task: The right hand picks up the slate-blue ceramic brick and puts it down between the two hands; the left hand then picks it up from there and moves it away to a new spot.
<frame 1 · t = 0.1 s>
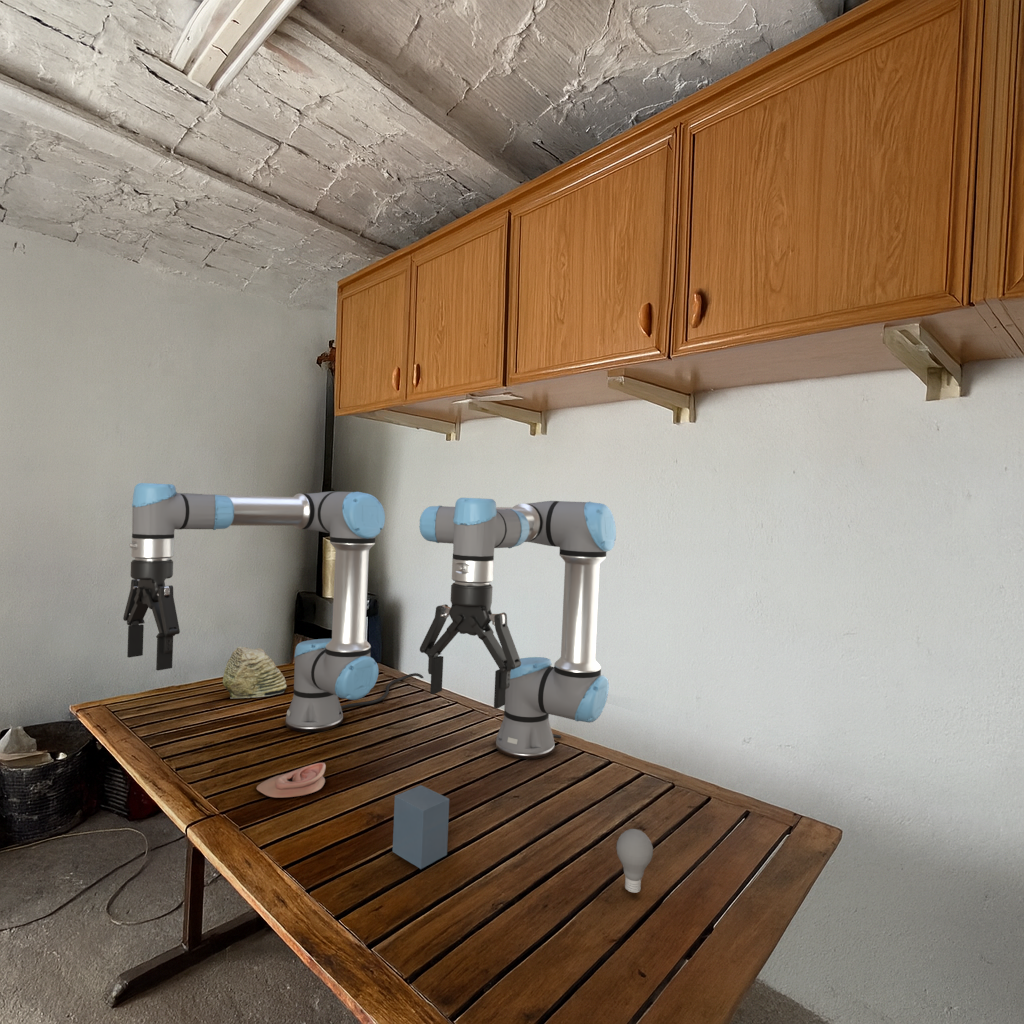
left hand: (149, 662, 129), 28 cm above the table, tool pointing down, fingers open, 13 cm apart
right hand: (466, 699, 115), 28 cm above the table, tool pointing down, fingers open, 13 cm apart
fossil: (254, 694, 198), on the table
anatomical model: (291, 787, 137), on the table
brick: (419, 853, 114), on the table
light bulb: (632, 891, 106), on the table
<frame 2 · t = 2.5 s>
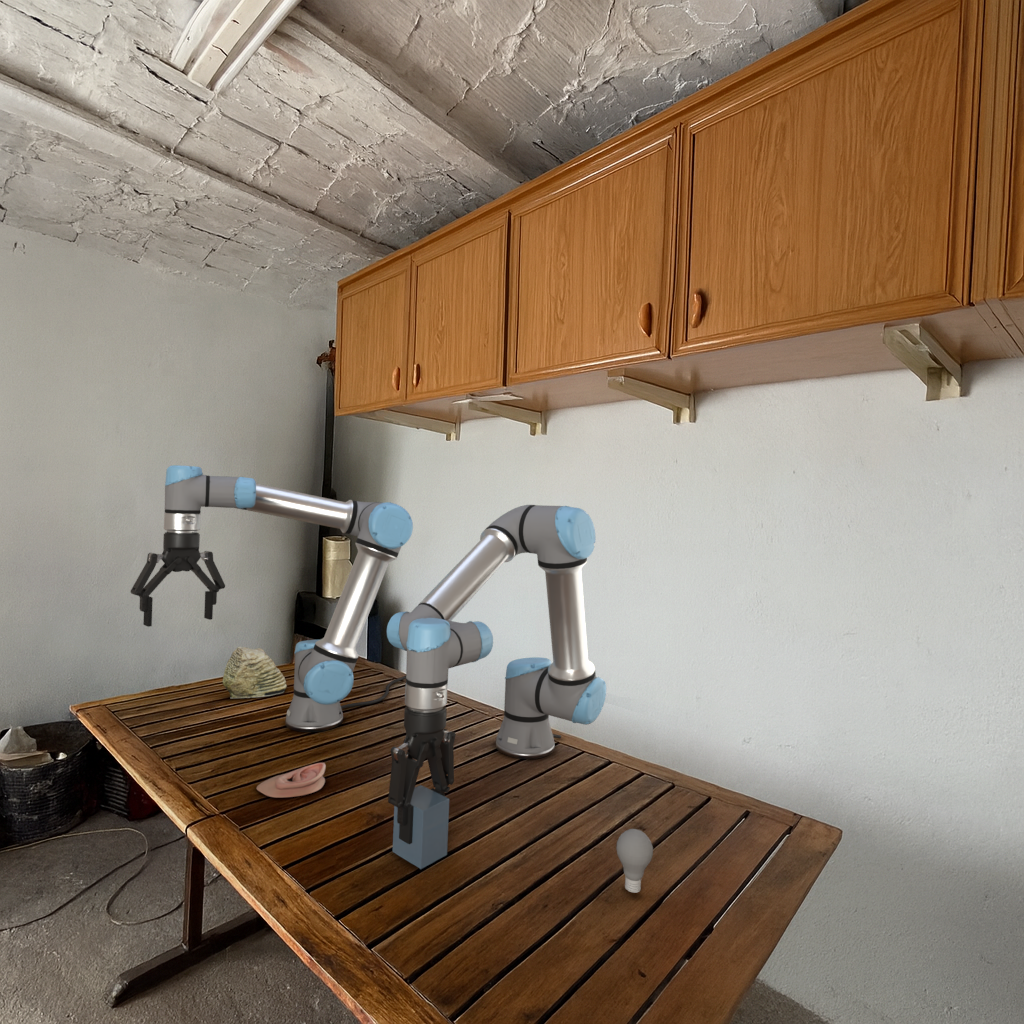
left hand: (178, 622, 148), 32 cm above the table, tool pointing down, fingers open, 13 cm apart
right hand: (420, 832, 114), 4 cm above the table, tool pointing down, fingers closed on brick, 6 cm apart
brick: (419, 853, 114), on the table, touching right hand
everything else where it was.
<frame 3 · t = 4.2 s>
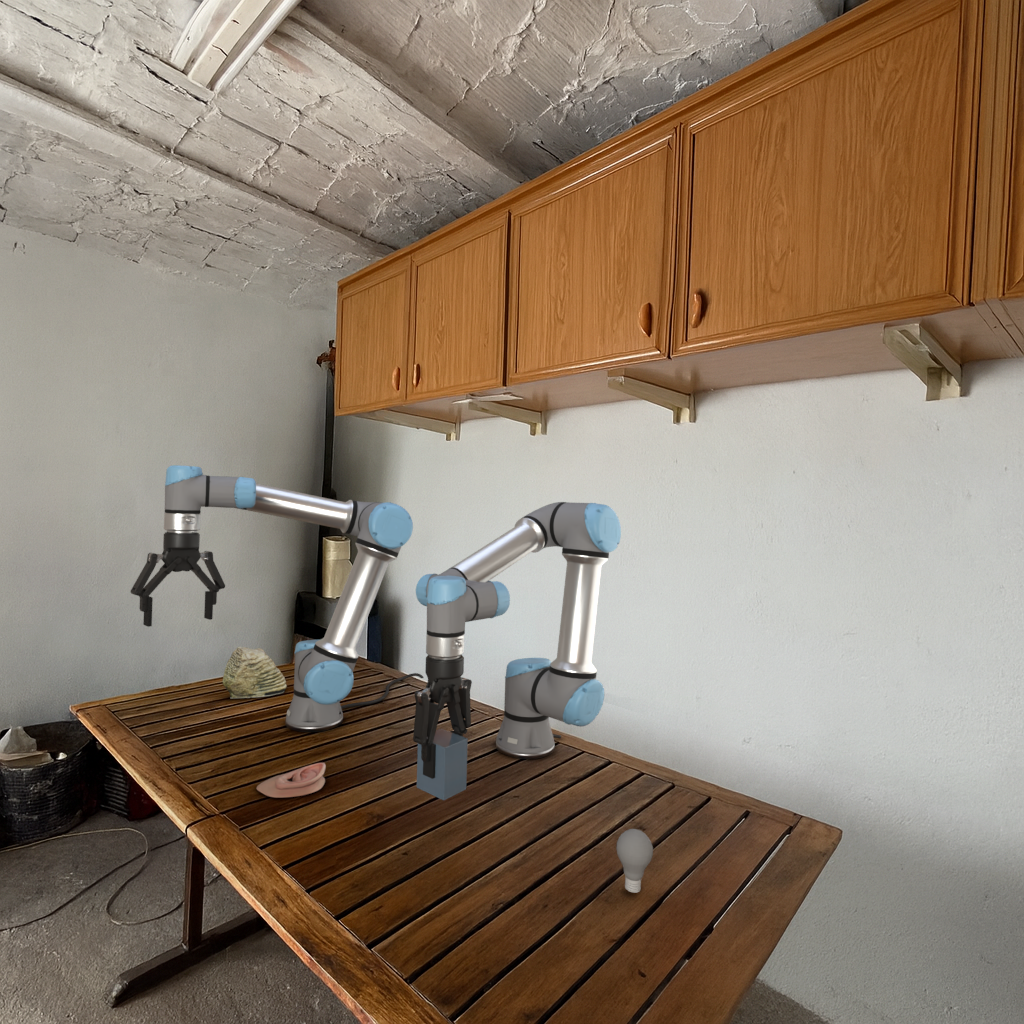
left hand: (178, 622, 148), 32 cm above the table, tool pointing down, fingers open, 13 cm apart
right hand: (442, 770, 126), 10 cm above the table, tool pointing down, fingers closed on brick, 6 cm apart
brick: (441, 788, 126), point 7 cm above the table, touching right hand
everything else where it was.
when the right hand's fingers open (6 cm above the table, at t = 5.9 s): brick drops 2 cm, on the table.
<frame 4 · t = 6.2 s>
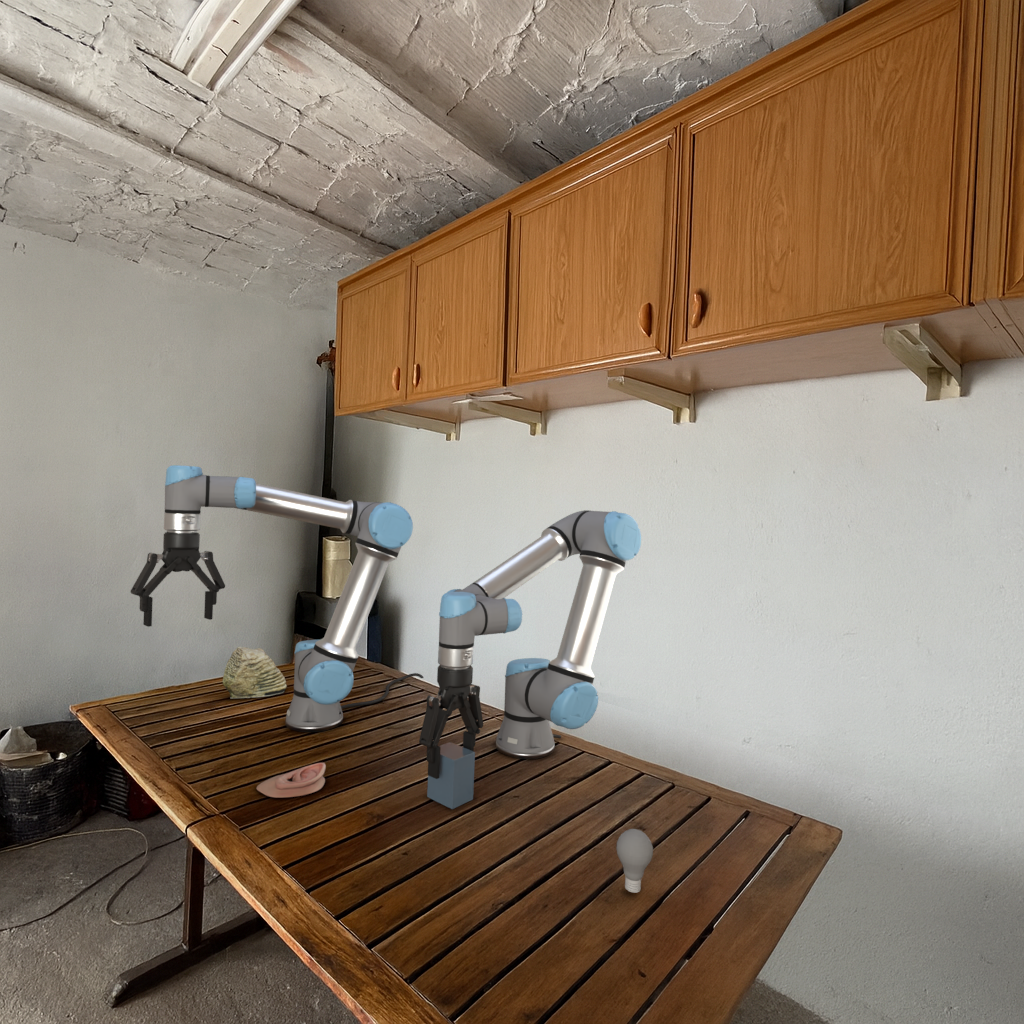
left hand: (178, 622, 148), 32 cm above the table, tool pointing down, fingers open, 13 cm apart
right hand: (451, 769, 136), 6 cm above the table, tool pointing down, fingers open, 9 cm apart
brick: (450, 798, 136), on the table
everything else where it was.
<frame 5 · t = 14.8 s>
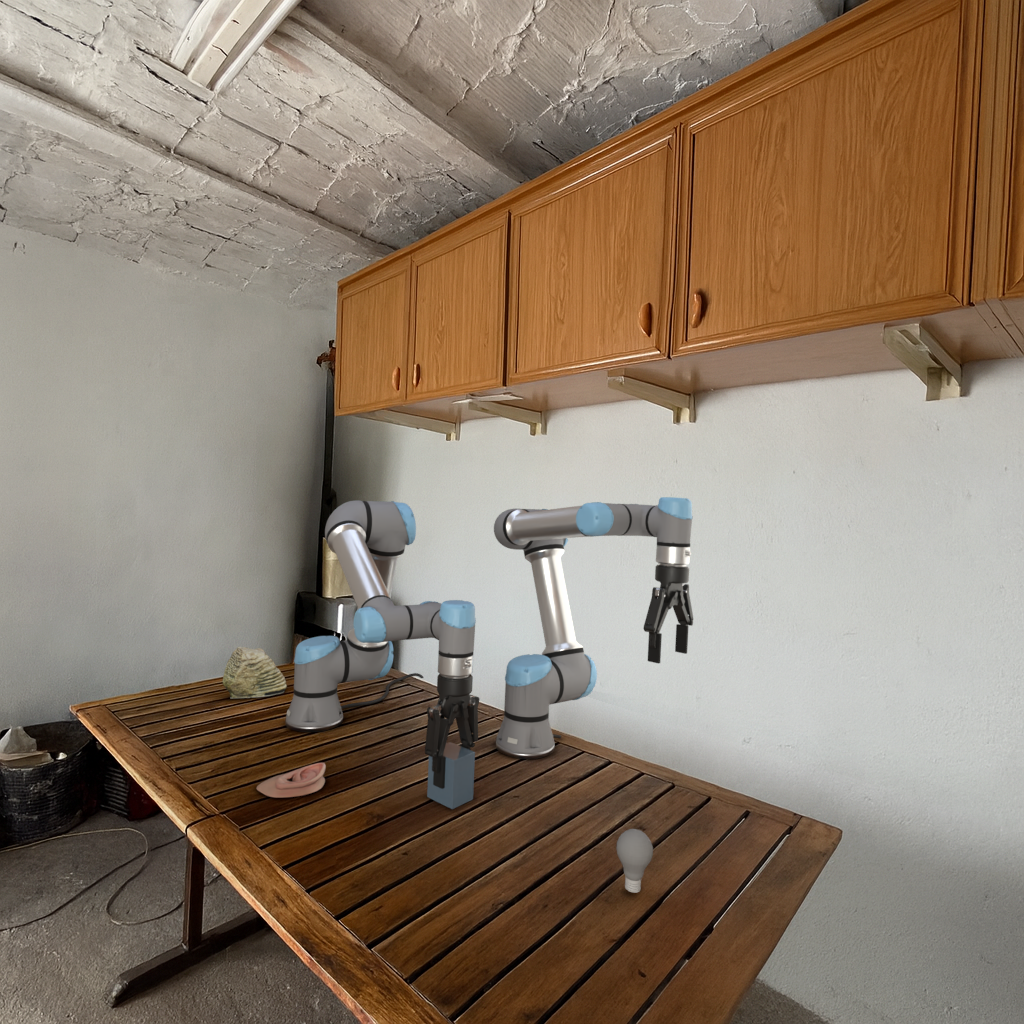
left hand: (450, 780, 136), 4 cm above the table, tool pointing down, fingers closed on brick, 6 cm apart
right hand: (667, 657, 145), 30 cm above the table, tool pointing down, fingers open, 13 cm apart
brick: (450, 798, 136), on the table, touching left hand
everything else where it was.
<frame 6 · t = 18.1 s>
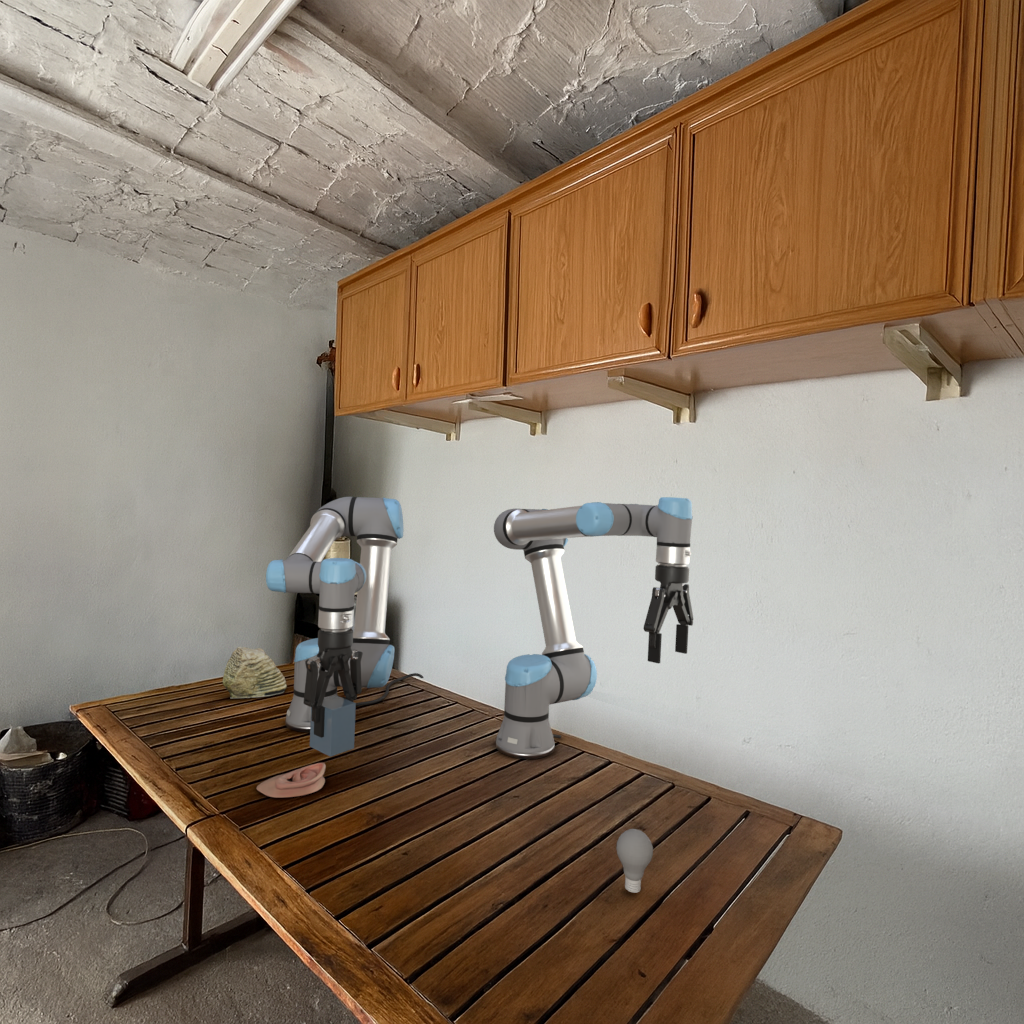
left hand: (332, 730, 141), 11 cm above the table, tool pointing down, fingers closed on brick, 6 cm apart
right hand: (667, 657, 145), 30 cm above the table, tool pointing down, fingers open, 13 cm apart
brick: (331, 747, 141), point 8 cm above the table, touching left hand
everything else where it was.
when the left hand's fingers open (6 cm above the table, at t = 21.9 s): brick drops 2 cm, on the table.
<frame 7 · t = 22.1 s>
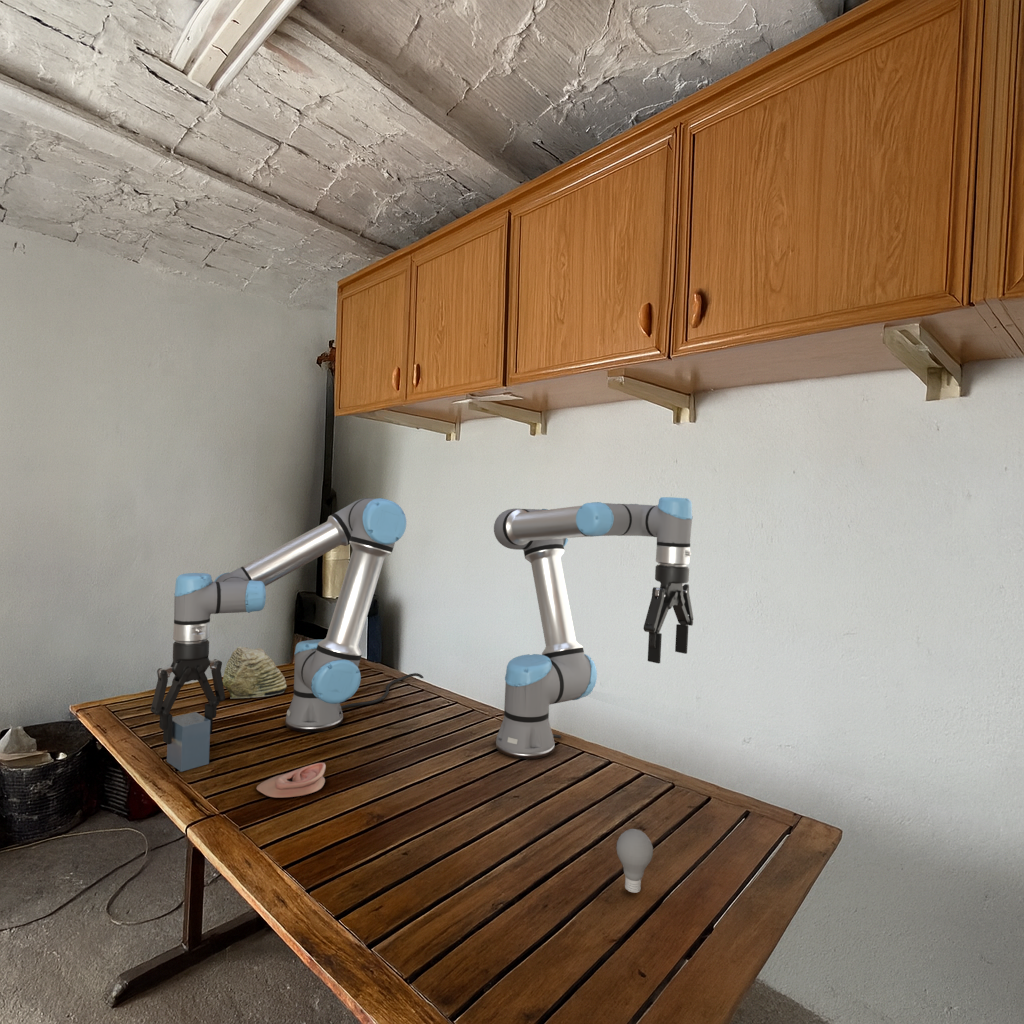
left hand: (188, 737, 147), 6 cm above the table, tool pointing down, fingers open, 8 cm apart
right hand: (667, 657, 145), 30 cm above the table, tool pointing down, fingers open, 13 cm apart
brick: (187, 762, 147), on the table
everything else where it was.
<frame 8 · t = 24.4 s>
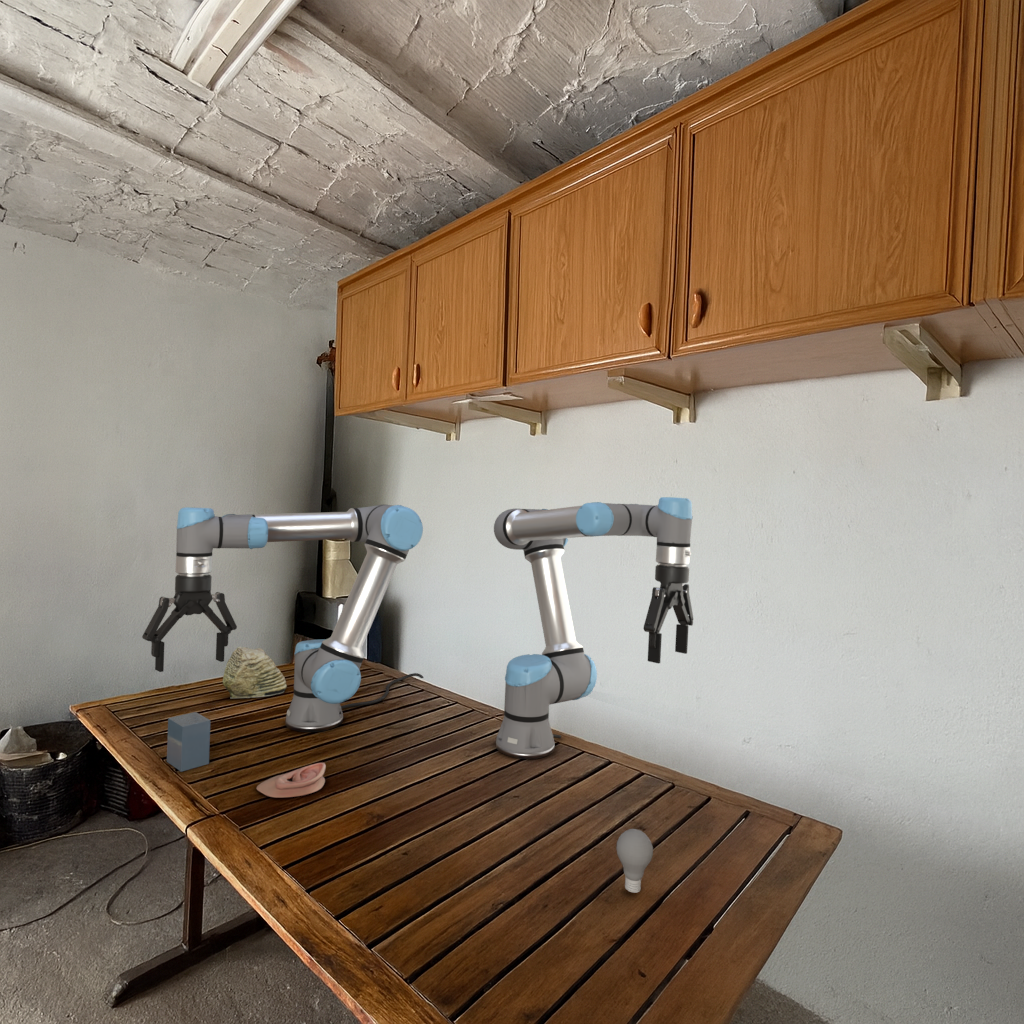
left hand: (190, 665, 147), 23 cm above the table, tool pointing down, fingers open, 13 cm apart
right hand: (667, 657, 145), 30 cm above the table, tool pointing down, fingers open, 13 cm apart
nothing on the table moved.
at the end: brick inside the target area (0.1 cm from its centre), on the table; brick tilted 0°; the two hands never held the brick at the same time; the left hand is holding nothing; the right hand is holding nothing; brick at rest at the end (0.0 cm/s) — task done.
